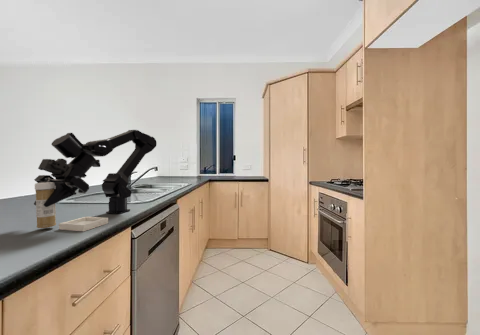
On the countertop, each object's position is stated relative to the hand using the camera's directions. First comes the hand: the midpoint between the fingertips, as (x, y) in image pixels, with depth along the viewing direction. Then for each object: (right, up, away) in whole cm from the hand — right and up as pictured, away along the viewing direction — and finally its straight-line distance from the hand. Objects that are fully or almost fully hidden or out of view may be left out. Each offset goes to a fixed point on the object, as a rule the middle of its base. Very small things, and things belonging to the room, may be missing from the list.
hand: (40, 205), depth 65 cm
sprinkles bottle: (+1, -7, +1) cm, 7 cm away
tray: (+10, -7, +4) cm, 13 cm away
